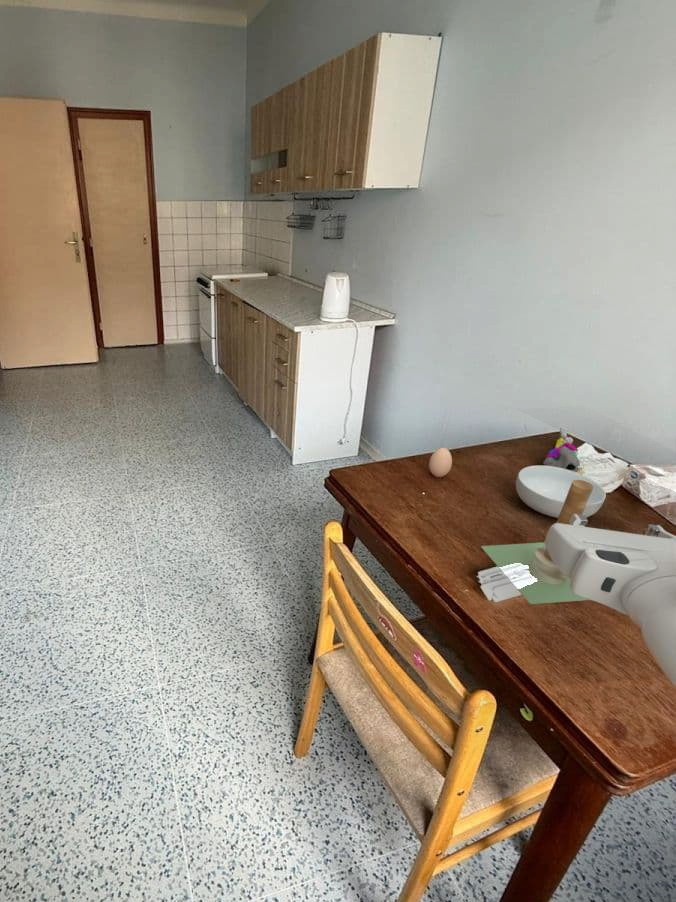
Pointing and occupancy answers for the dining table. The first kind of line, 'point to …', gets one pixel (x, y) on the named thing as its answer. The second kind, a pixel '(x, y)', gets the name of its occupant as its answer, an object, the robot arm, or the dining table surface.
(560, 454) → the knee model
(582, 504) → the dish brush
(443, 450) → the egg
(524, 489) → the cereal bowl
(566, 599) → the mat
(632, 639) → the dining table surface
